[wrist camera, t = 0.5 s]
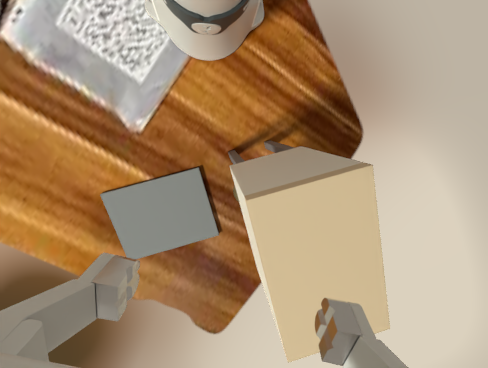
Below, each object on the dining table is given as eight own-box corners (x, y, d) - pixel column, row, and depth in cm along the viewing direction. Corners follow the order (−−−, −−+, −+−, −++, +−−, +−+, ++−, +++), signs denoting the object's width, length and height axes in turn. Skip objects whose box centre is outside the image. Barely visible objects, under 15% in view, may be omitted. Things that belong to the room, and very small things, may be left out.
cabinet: (244, 229, 51) (288, 362, 22) (223, 152, 46) (246, 200, 18) (290, 215, 51) (390, 328, 23) (274, 139, 47) (372, 164, 19)
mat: (130, 259, 49) (128, 261, 48) (101, 193, 45) (100, 194, 44) (218, 233, 50) (218, 235, 49) (198, 167, 46) (198, 167, 46)
